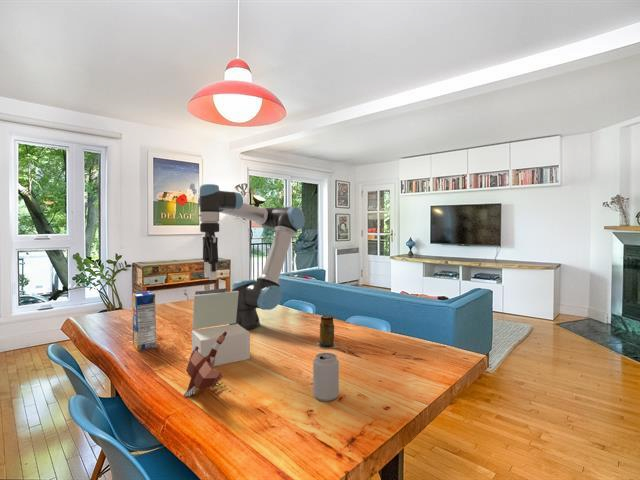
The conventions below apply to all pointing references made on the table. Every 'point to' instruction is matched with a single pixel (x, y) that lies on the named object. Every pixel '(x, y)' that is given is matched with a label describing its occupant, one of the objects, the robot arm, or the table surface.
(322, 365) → the can
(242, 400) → the table surface
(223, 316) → the lid flap
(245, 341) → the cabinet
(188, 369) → the decorative bird
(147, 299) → the beverage box
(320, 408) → the table surface
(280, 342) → the table surface
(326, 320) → the condiment
